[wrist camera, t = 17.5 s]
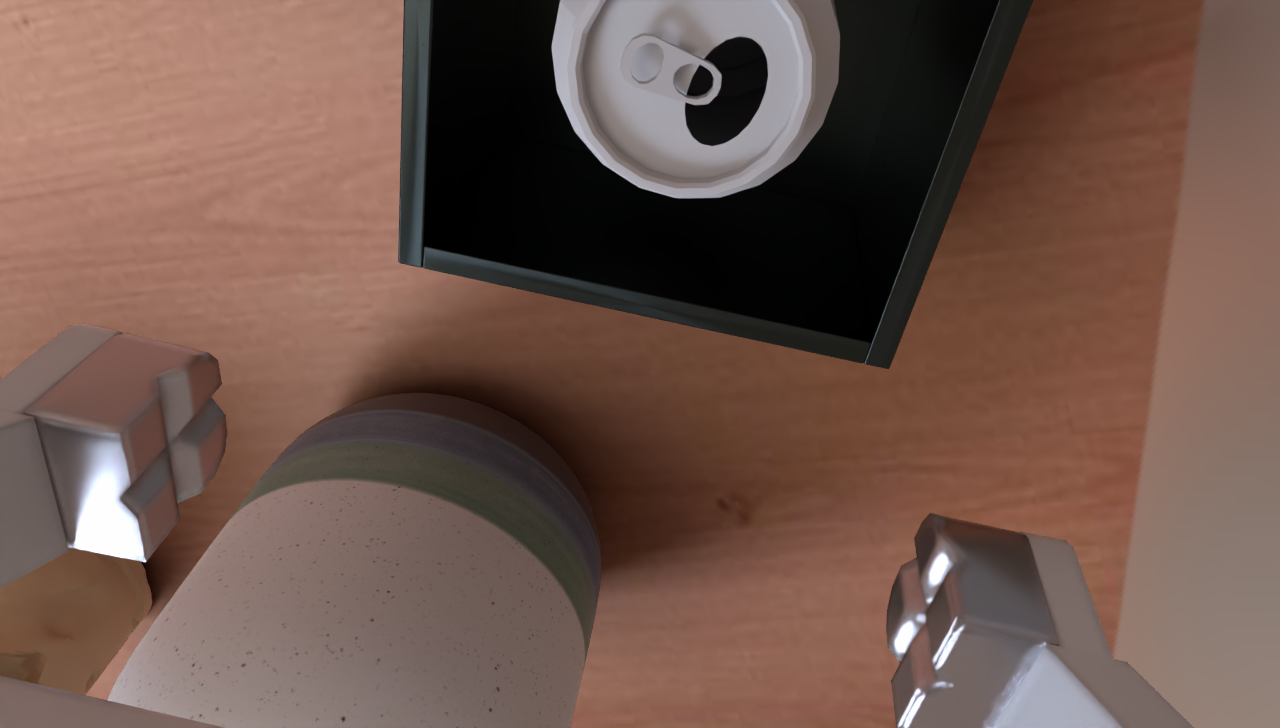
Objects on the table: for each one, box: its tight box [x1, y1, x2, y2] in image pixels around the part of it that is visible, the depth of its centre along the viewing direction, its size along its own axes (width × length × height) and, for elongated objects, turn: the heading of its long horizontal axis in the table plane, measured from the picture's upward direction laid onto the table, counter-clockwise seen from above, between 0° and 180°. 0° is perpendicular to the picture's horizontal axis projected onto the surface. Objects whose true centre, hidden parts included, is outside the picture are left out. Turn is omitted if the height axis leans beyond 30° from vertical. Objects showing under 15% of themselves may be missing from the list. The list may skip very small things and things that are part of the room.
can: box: [552, 0, 840, 198], centre depth 28 cm, size 8×8×12 cm
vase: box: [108, 393, 601, 728], centre depth 38 cm, size 17×17×24 cm
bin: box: [398, 0, 1033, 369], centre depth 29 cm, size 16×16×10 cm
